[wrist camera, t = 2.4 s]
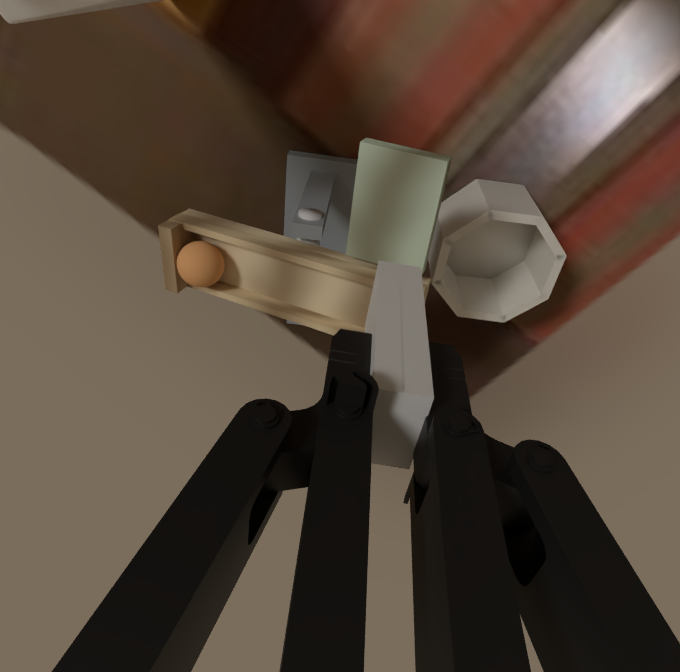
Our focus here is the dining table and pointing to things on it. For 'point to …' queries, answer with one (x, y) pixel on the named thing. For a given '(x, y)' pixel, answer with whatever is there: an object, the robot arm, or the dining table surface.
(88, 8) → the milk
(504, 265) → the cup
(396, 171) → the lever
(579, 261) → the dining table surface
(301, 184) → the fulcrum
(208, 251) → the ball
